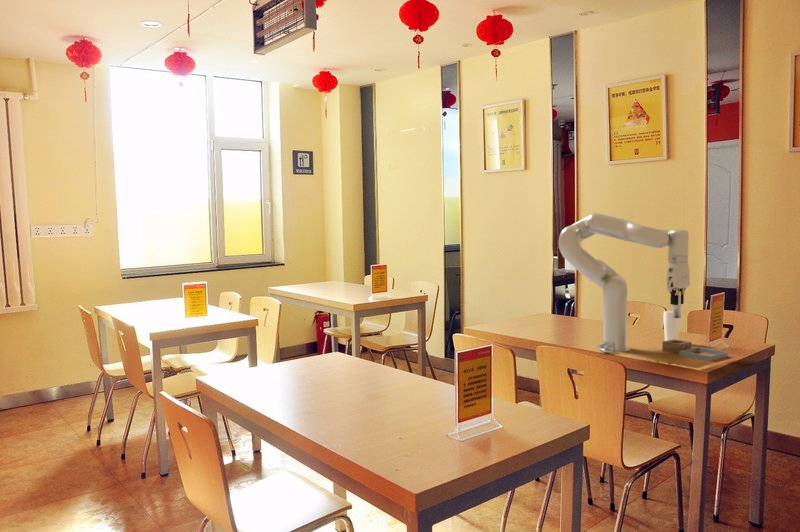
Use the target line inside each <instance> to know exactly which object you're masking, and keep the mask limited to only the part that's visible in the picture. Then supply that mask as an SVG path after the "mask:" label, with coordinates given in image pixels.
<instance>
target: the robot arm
mask: <svg viewBox="0 0 800 532" xmlns="http://www.w3.org/2000/svg"><path fill="white" fill-rule="evenodd" d="M596 234H597V235H602V236H605V237H609V238H613V239H616V240H621V241H624V242H631V243H634V244H640V245H642V246H647V247H651V248H655V249H663V248H664V247H667V248H668V250H667V251H668V252H667V253H668V254H667V255H668V256H667V258H668V259H667V270H666V290H667V291H668V292H669V295H670V305H672V306H673V305H678V298H679V295H678V290H680V291H681V305H684V302H685V301H684V300H685V298H684V297H685V296H684V295H685V291H686V289H687V288H688V287H690V280H691V279H690V277H691V276H690V275H691V274H690V266H689V240H690V239H689V234H690V233H689V231H688V230H686V229H671V230H669V229H668V230H667V229H658V228H654V227H650V226H645V225H641V224H638V223H635V222H633V221H630V220H628V219H624V218H619V217H616V216H615V217H614V216H612V215H606V214H604V213H599V212H593V213H590V214H589V215H588V216H586V217H584V218H583V219H581V220H578V221H577V222H574V223H572V224H571V225H568V226H566V227H564V228H563V229H562V230H561V232H560V234H559V237H558V248H559V252H560V254H561V255H562V258H564V260H566V261H567V263H569V264H570V265H572V267H573V268H575V270H577V271H578V272H579V273H581V274H582V275H583V277H585V278H586V279H587V280H588V281H590V282H593V283H594V284H596V285H597V286H598V287H599V288H601V290H602V296H603V297H602V299H603V300H602V301H603V306H602V309H603V311H602V313H603V314H602V315H603V317H602V319H603V321H602V324H603V326H602V327H603V329H602V333H603V334H602V335H603V336H602V341H601V343H598V344H596V348H597V349H599V351H601V352H603V353H608V354H609V353H610V354H618V353H620V352H622V353H623V352H628V351H631V348H630V347H629V346H627V344H628V343H627V342H628V341H627V340H628V339H627V338H628V337H627V336H628V331H627V329H628V327H627V326H628V325H627V324H628V314H627V313H628V311H627V310H628V284H627V281H626V280H625V278H624V277H623V275H622V276H621V275H620V274H619V273H618V272H616V271H615V269H613V268H612V267H610V266H609V265H608V263H606V262H604V261H602V260H601V259H598V258H597V259H596V258H595V257H594V256H592V255H591V254H590V253H589V252H588V251H587V250H586V249H584V248H583V247H582V246H581V244H580V243H581V242H582V241H585V240H587V239H589V238H590V237H593V236H594V235H596Z"/></svg>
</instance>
